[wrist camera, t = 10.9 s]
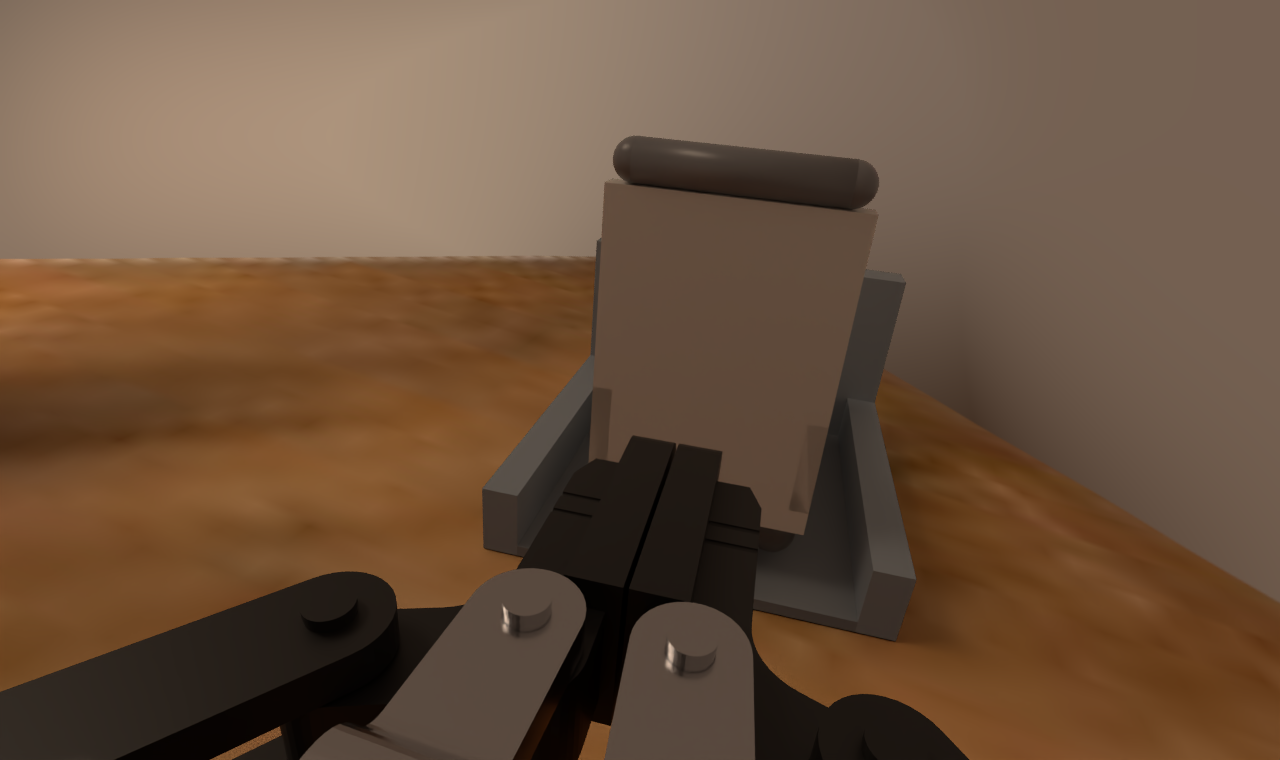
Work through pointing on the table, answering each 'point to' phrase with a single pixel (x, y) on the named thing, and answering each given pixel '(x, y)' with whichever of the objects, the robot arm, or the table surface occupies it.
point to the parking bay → (840, 508)
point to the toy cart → (730, 309)
